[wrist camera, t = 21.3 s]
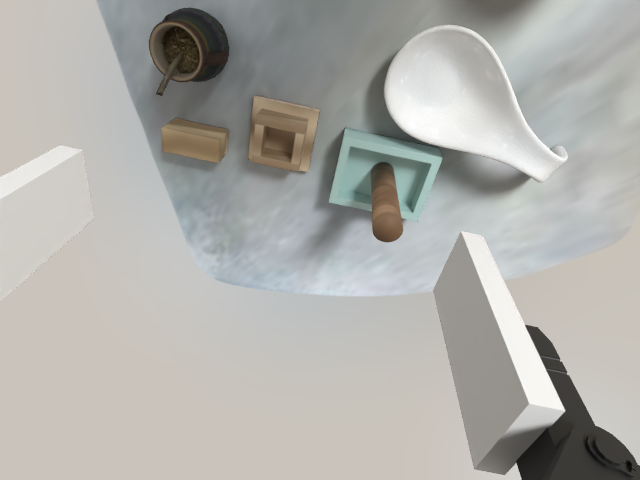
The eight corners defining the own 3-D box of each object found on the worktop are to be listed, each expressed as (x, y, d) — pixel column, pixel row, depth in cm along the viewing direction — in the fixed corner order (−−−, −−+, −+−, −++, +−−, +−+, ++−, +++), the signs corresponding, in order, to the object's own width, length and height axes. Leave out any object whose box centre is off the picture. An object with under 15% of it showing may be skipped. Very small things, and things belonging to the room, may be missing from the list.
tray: (345, 127, 49) (344, 136, 46) (438, 148, 49) (442, 157, 46) (330, 191, 54) (328, 202, 51) (415, 209, 54) (417, 221, 51)
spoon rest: (363, 97, 47) (364, 114, 41) (427, -2, 41) (438, 1, 35) (512, 194, 52) (532, 222, 46) (588, 119, 46) (622, 139, 40)
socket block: (255, 95, 47) (247, 103, 44) (319, 109, 48) (316, 119, 44) (249, 156, 52) (242, 168, 48) (308, 169, 52) (304, 181, 49)
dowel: (368, 180, 51) (369, 238, 40) (374, 159, 50) (377, 213, 38) (390, 185, 51) (397, 244, 40) (397, 165, 50) (407, 220, 38)
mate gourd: (239, 16, 43) (209, 24, 35) (230, 86, 47) (202, 108, 39) (175, -4, 42) (129, 0, 34) (171, 68, 47) (130, 87, 38)
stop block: (175, 118, 50) (161, 127, 47) (228, 129, 50) (219, 140, 47) (175, 140, 52) (162, 151, 48) (227, 151, 52) (218, 163, 48)
